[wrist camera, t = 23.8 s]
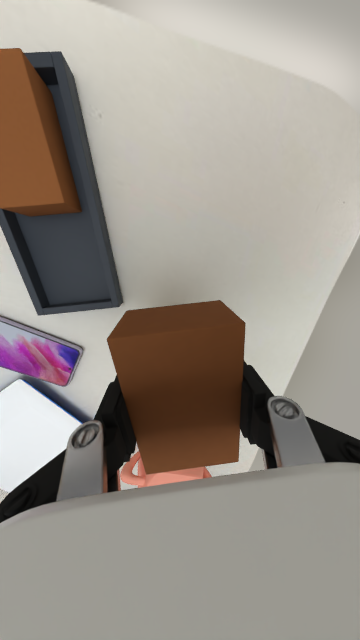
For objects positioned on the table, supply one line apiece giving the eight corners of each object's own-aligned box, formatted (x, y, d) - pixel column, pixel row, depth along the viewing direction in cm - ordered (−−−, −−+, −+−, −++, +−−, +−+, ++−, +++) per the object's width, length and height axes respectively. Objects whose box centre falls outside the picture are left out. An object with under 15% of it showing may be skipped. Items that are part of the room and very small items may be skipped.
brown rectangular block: (29, 216, 18) (-1, 208, 15) (-14, 96, 15) (-66, 50, 11) (82, 212, 18) (64, 203, 15) (51, 92, 15) (19, 47, 12)
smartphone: (-47, 301, 20) (82, 350, 23) (-39, 299, 21) (85, 347, 24) (-55, 350, 22) (66, 388, 25) (-47, 347, 23) (69, 384, 26)
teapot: (123, 415, 29) (104, 490, 20) (189, 395, 29) (200, 463, 20) (152, 462, 35) (147, 539, 25) (208, 446, 34) (224, 519, 25)
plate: (129, 447, 33) (127, 459, 31) (45, 494, 36) (38, 507, 34) (29, 369, 25) (18, 379, 23) (-67, 438, 28) (-84, 451, 26)
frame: (48, 310, 22) (37, 315, 20) (-41, 81, 15) (-72, 56, 13) (123, 302, 22) (119, 307, 21) (73, 76, 15) (60, 50, 13)
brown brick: (151, 420, 13) (145, 475, 10) (126, 310, 10) (105, 338, 7) (221, 411, 13) (238, 462, 10) (220, 299, 10) (246, 322, 7)
